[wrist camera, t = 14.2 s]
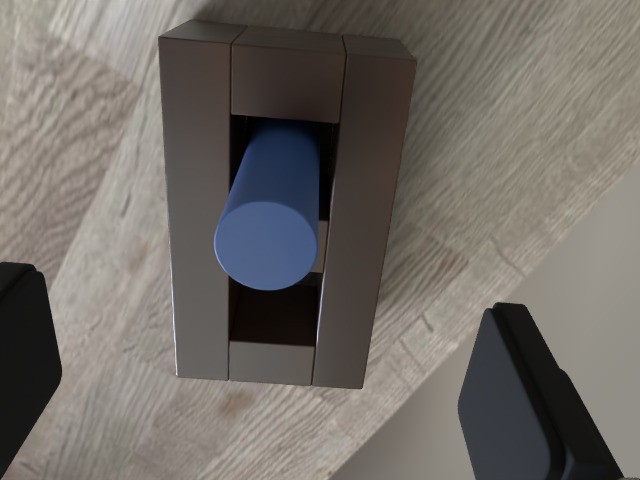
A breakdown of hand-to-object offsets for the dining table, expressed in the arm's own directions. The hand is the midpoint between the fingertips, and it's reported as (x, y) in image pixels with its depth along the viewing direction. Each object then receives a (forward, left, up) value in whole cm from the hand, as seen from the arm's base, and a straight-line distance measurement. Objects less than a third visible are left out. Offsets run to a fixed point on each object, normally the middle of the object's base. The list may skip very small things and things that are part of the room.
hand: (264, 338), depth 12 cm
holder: (0, +3, -15) cm, 16 cm away
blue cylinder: (0, 0, -15) cm, 15 cm away
